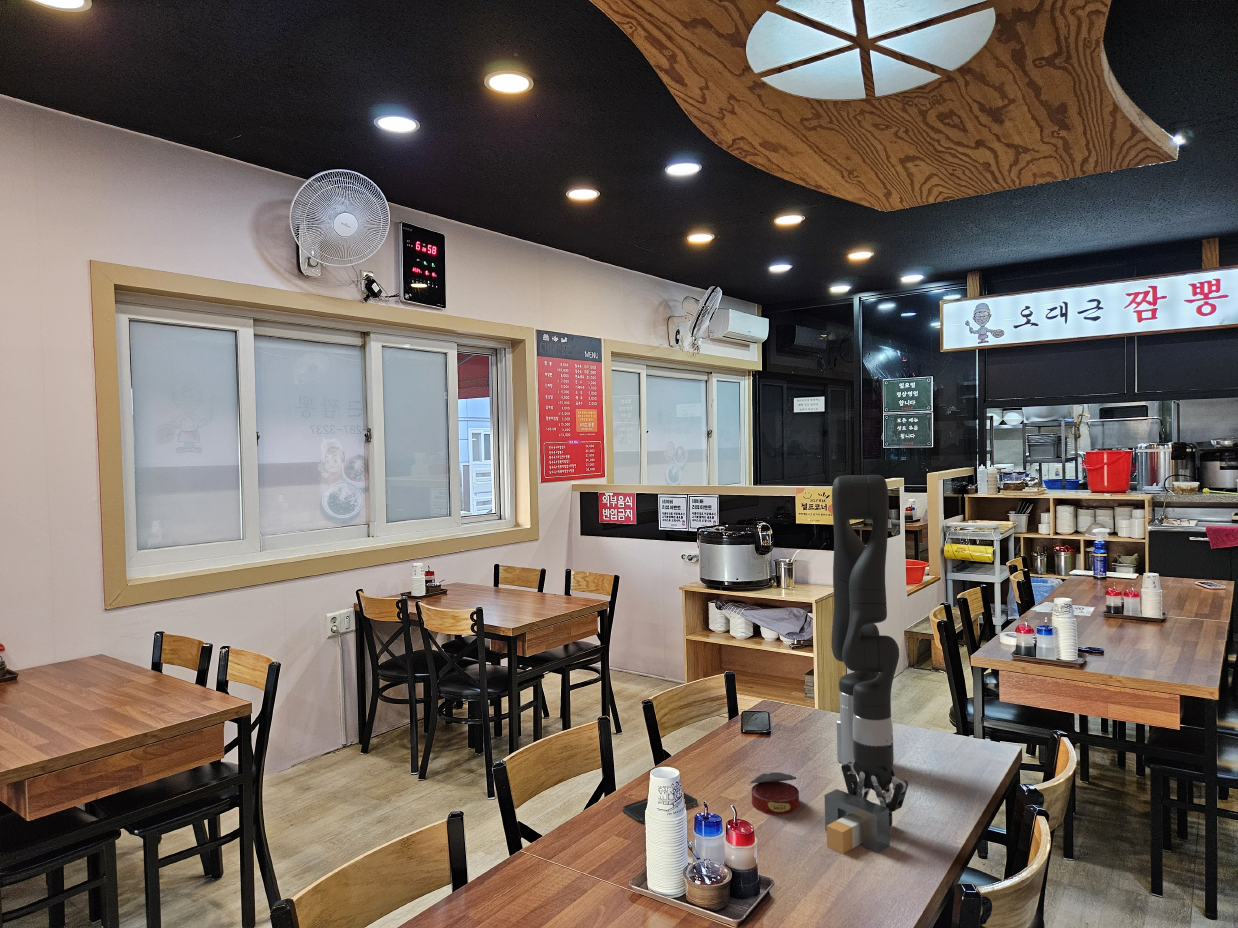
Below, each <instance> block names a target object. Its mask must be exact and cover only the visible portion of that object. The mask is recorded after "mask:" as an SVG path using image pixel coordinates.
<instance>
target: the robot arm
mask: <svg viewBox="0 0 1238 928" xmlns="http://www.w3.org/2000/svg"><path fill="white" fill-rule="evenodd" d="M831 488H832V489H831V505H832V506H831V507H832V508H831V509H832V522H833V523H832V524H833V538H834V539H833V541H834V542H833V543H834V544H833V566H832V585H833V586H832V587H833V590H832V591H833V614H832V625H831V638H830V639H831V642H830V643H831V651H832V654H833V658H834V659H835V660H836V661H838V662H842V663H843V664H844V666H845V667H846V668H847V669H848V670H850V671H851V672H850V673H847V674H844V675H842V676H841V677H840V678H839V681H838V690H839V691H838V693H839V696H838V697H839V720H837V721H836V750H837V751H836V752H837V753H836V754H837V762H838V763H841V764H842V765H841V767H840V768H841V772H842V775H843V779H844V782H845V787H846V791H847V793H849V794H852V795H854V796H857V797H860V798H862V799H865V800H868V801H870V800H869V799H868V798H869V795H870V791H871V790H872V791H874V792H875V796H876V800H878V801H879V802H880V805H881V806H884V807H886V808H889V829H890V826H891V827H892V825H893V812H896V811H897V810H900V809H901V808H902V807H903V804H904V800H905V797H906V795H907V791H908V788H909V782H908V781H907V780H906V779H905V780H901V779H900V778H898V777H897V776H896V774H895V771H894V768H893V765H894V761H895V757H894V728H893V720H892V705H891V703H892V702H891V701H892V697H891V696H892V686H893V682H894V678H895V675H896V670H897V667H898V664H899V660H900V647H899V645H898V643H897V641H896V639H894V638H893V637H892V636H889V635H880V634H881V633H880V630H879V628H878V626H877V624H879V623H883V622H885V621H886V620H887V617H888V608H887V607H888V606H887V605H888V604H887V591H886V589H887V588H886V587H887V586H886V562H887V551H888V537H889V536H888V535H889V534H888V532H889V511H890V510H889V505H890V503H889V499H890V498H889V489H888V483H887V481H886V478H885V477H884V476H882V475H880V474H864V475H863V474H858V475H857V474H853V475H849V474H848V475H840V476H837V477H835V478H834V481H833V483H832V487H831ZM854 520H855V521H857V520H858V521H860V520H862V521H863V520H864V521H865V520H868V521H869V520H870V521H872V526H871V533H870V536H869V539H868V541H867V543H866V544H865V543H864V542H863V541H862V540H861V539H860V538H859V536H858V535H857V533H856V532H855V531H854V528H853V526H852V525H851V522H850V521H854ZM891 784H892V787H891ZM892 790H893V791H892Z"/></svg>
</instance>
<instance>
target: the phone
mask: <svg viewBox="0 0 1238 928" xmlns="http://www.w3.org/2000/svg"><path fill="white" fill-rule="evenodd" d="M684 799H685V804H686V808H687V809H686V810H689V809H691V808H693V807H692V806H694V805H696V806H698V799H697V798H695V797H693V796H692V795H689V794H688V793H686V792H684ZM646 806H647V798H644V799H642V800H638V801H636V802H633V803H630V804H629V803H628V804H627V805H624V806H622V813H624V815H626V816H628V817H629V818H631V819H632V820H633V821H636V822H637V823H639V824H641V825H642V824H643V825H644V822H645V810H646ZM688 807H689V808H688ZM690 807H691V808H690ZM694 807H695V806H694Z"/></svg>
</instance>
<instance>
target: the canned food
mask: <svg viewBox="0 0 1238 928" xmlns="http://www.w3.org/2000/svg"><path fill="white" fill-rule="evenodd" d="M794 780H797V777H796V776H793V775H792V774H789V773H788V774H787V773H783V772H776V771H775V772H768V773H764V772H763V773H761V774H760V775H758V776H756V777H755V778H754V779H752V780H751V781H750V782H749V784H754V785H753V786H752V787H751V805H752V806H753V808H754V809H756V810H757V811H759V812H762V813H765V814H769V815H777V816H778V815H787V814H788V815H789V814H792V813H794V812H797V810H799V808H800V791H799V789H798V787H796V786H795V785H793V784H791V783H788V782H786V781H794Z"/></svg>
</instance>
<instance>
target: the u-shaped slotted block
mask: <svg viewBox="0 0 1238 928" xmlns="http://www.w3.org/2000/svg"><path fill="white" fill-rule="evenodd" d="M868 800H869V799H867V800H865V799H862V798H860V797H857V796H854V795H852V794H849V793H848V792H846V791H844V790H840V789H838V788H835V789H834V790H832V791H830V792H827V793H826V794H824V826H825V828H824V829H825V831H826V832H827V825H829V824H831V823H833V822H835V821H836V820H838V819H840V818H842V817H844V816H846V815H848V814H850V813H852V814H855V815H857V816H860V817H862V822H863V843H862V847H863V848H865V849H868V850H869V851H872V852H874V853H879V852H882V850H885V849H886V848H888V847H890V844H891V843H890V828H889V808H886V807H884V806H881V805H878V804H876V803H873V801H870V800H869V801H868Z"/></svg>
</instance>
